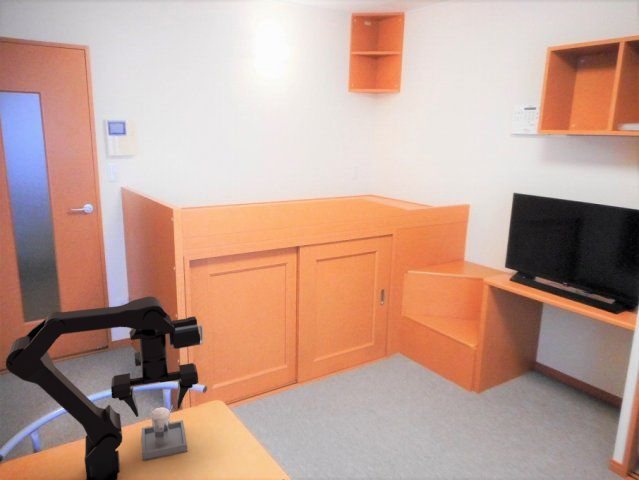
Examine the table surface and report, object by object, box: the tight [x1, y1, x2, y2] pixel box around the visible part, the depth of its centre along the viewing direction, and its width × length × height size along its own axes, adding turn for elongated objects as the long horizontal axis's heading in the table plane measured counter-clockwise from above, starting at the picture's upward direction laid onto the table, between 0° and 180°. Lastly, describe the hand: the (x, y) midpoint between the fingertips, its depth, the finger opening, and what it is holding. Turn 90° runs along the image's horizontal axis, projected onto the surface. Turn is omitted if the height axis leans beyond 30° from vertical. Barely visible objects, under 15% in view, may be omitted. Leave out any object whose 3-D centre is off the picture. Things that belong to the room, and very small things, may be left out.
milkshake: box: [150, 404, 174, 445], centre depth 118 cm, size 4×5×10 cm
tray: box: [141, 419, 188, 462], centre depth 119 cm, size 10×10×2 cm
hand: (158, 411), depth 111 cm, fingers open, 9 cm apart
